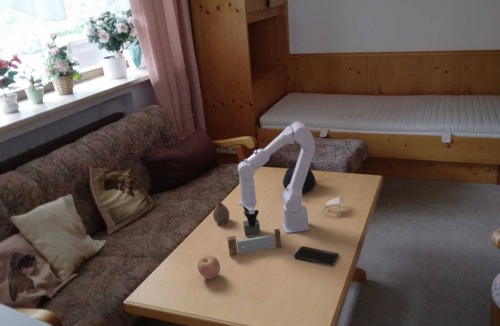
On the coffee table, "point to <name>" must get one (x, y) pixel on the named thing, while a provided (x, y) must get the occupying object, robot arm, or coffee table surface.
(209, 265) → the apple
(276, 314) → the coffee table surface
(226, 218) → the vase
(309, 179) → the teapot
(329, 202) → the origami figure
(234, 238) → the door frame
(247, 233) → the block
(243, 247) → the door
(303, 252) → the phone
